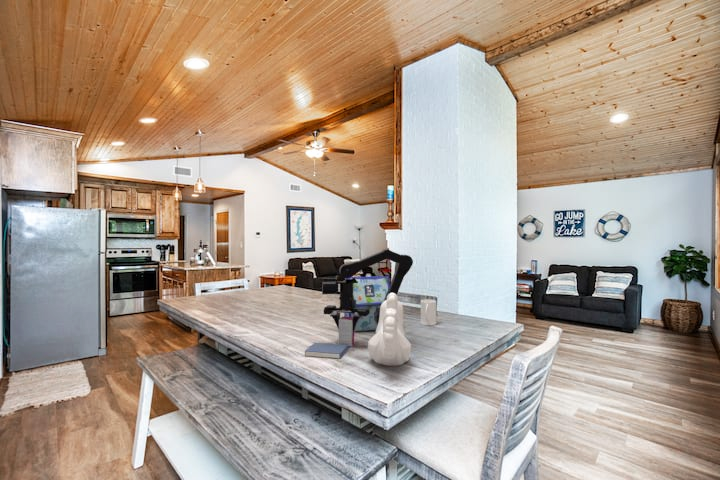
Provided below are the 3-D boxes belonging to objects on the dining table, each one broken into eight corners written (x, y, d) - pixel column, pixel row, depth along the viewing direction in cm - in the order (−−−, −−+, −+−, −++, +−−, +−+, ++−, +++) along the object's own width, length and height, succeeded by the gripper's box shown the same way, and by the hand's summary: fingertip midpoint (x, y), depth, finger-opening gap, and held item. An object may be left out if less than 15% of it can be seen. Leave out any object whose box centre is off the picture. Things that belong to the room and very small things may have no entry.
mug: (433, 327, 175) (433, 303, 175) (416, 325, 178) (416, 302, 178) (438, 322, 186) (438, 300, 186) (422, 320, 189) (422, 299, 189)
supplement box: (351, 347, 142) (351, 319, 142) (337, 347, 143) (337, 319, 143) (354, 343, 147) (354, 316, 147) (341, 342, 149) (341, 316, 149)
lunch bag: (349, 334, 162) (349, 278, 162) (342, 325, 178) (342, 275, 178) (394, 331, 167) (394, 277, 167) (383, 323, 184) (383, 274, 184)
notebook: (347, 349, 139) (347, 344, 139) (340, 359, 129) (340, 353, 129) (314, 347, 143) (314, 342, 143) (304, 356, 132) (304, 351, 132)
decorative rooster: (375, 352, 137) (375, 289, 137) (415, 356, 132) (415, 291, 132) (354, 375, 113) (354, 299, 113) (402, 381, 108) (402, 302, 108)
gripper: (372, 291, 151) (372, 327, 151) (331, 290, 155) (331, 325, 155) (366, 295, 140) (367, 334, 140) (323, 294, 144) (323, 331, 144)
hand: (346, 331), depth 145 cm, fingers closed on supplement box, 6 cm apart
